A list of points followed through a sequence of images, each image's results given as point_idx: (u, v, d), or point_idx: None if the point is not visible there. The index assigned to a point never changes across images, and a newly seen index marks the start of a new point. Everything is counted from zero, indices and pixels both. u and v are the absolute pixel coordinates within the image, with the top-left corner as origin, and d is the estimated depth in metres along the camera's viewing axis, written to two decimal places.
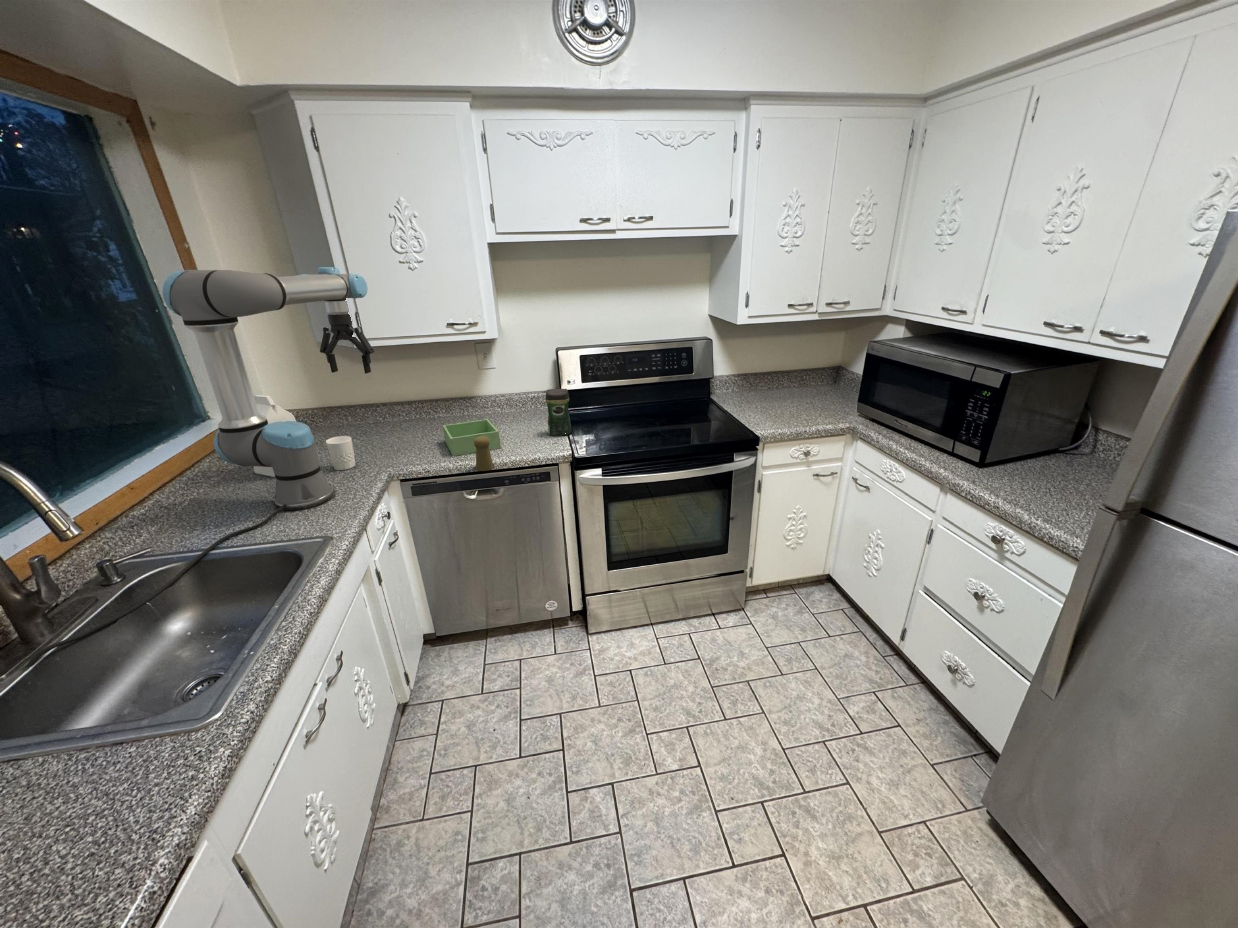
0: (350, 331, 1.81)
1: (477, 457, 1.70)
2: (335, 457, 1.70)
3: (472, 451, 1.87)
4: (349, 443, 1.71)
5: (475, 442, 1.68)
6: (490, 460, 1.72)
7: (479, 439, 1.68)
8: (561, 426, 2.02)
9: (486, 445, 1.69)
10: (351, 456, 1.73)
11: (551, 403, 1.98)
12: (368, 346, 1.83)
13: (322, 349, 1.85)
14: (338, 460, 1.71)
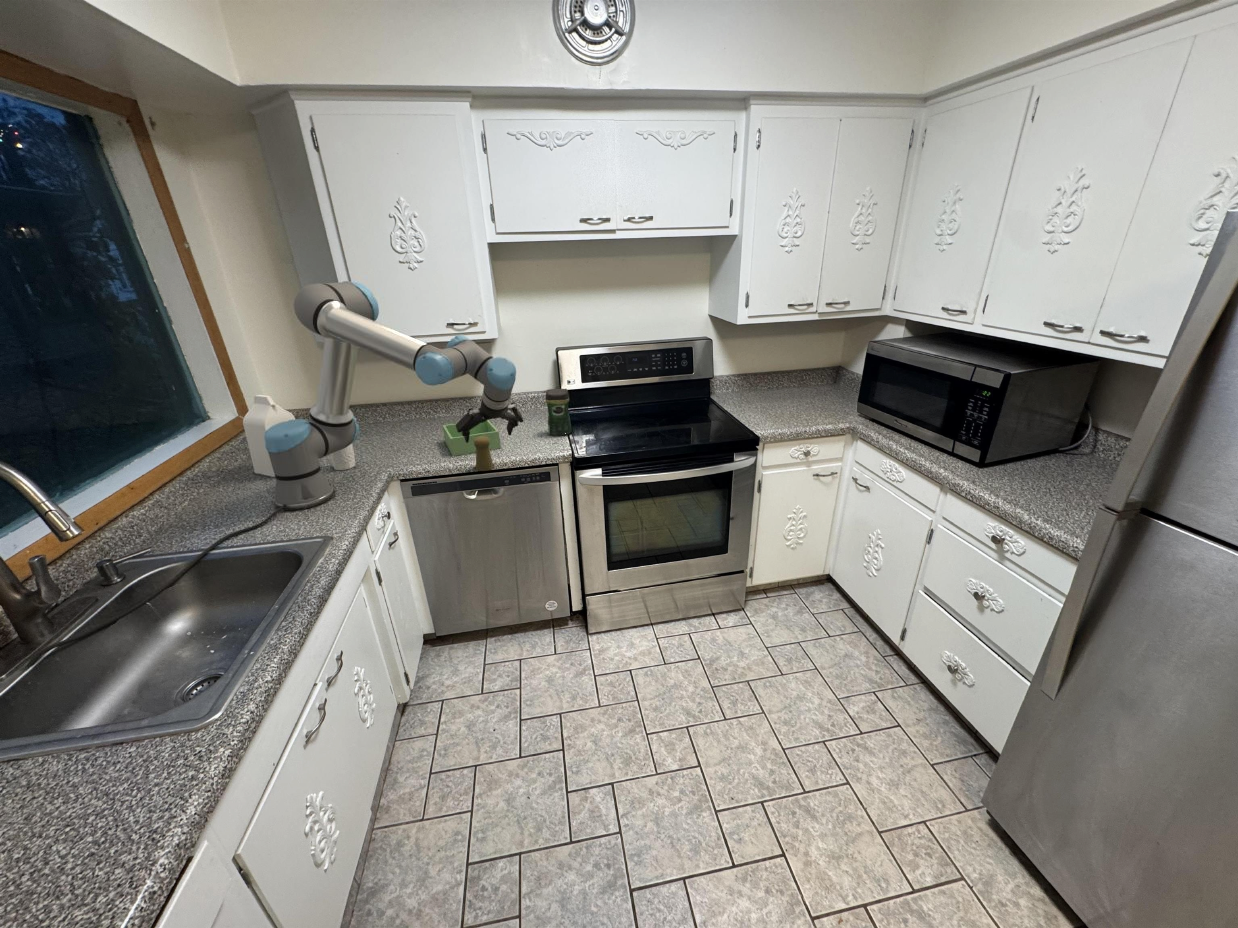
0: None
1: (477, 457, 1.70)
2: (335, 457, 1.70)
3: (472, 451, 1.87)
4: None
5: (475, 442, 1.68)
6: (490, 460, 1.72)
7: (479, 439, 1.68)
8: (561, 426, 2.02)
9: (486, 445, 1.69)
10: (351, 456, 1.73)
11: (551, 403, 1.98)
12: (459, 423, 1.47)
13: None
14: (338, 460, 1.71)
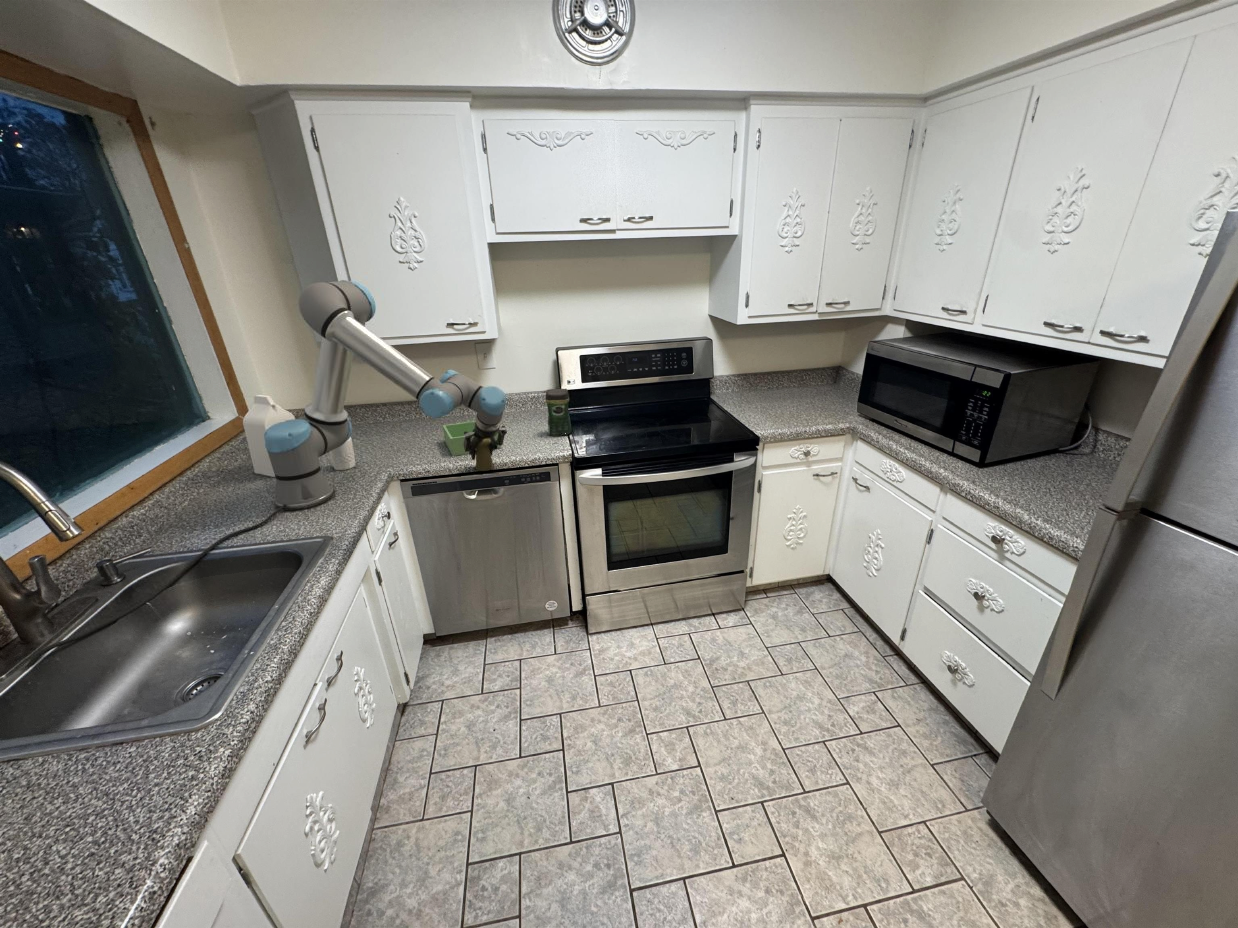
0: None
1: (477, 457, 1.70)
2: (335, 457, 1.70)
3: None
4: (349, 443, 1.71)
5: None
6: (490, 460, 1.72)
7: None
8: (561, 426, 2.02)
9: (486, 445, 1.69)
10: (351, 456, 1.73)
11: (551, 403, 1.98)
12: (464, 444, 1.65)
13: None
14: (338, 460, 1.71)
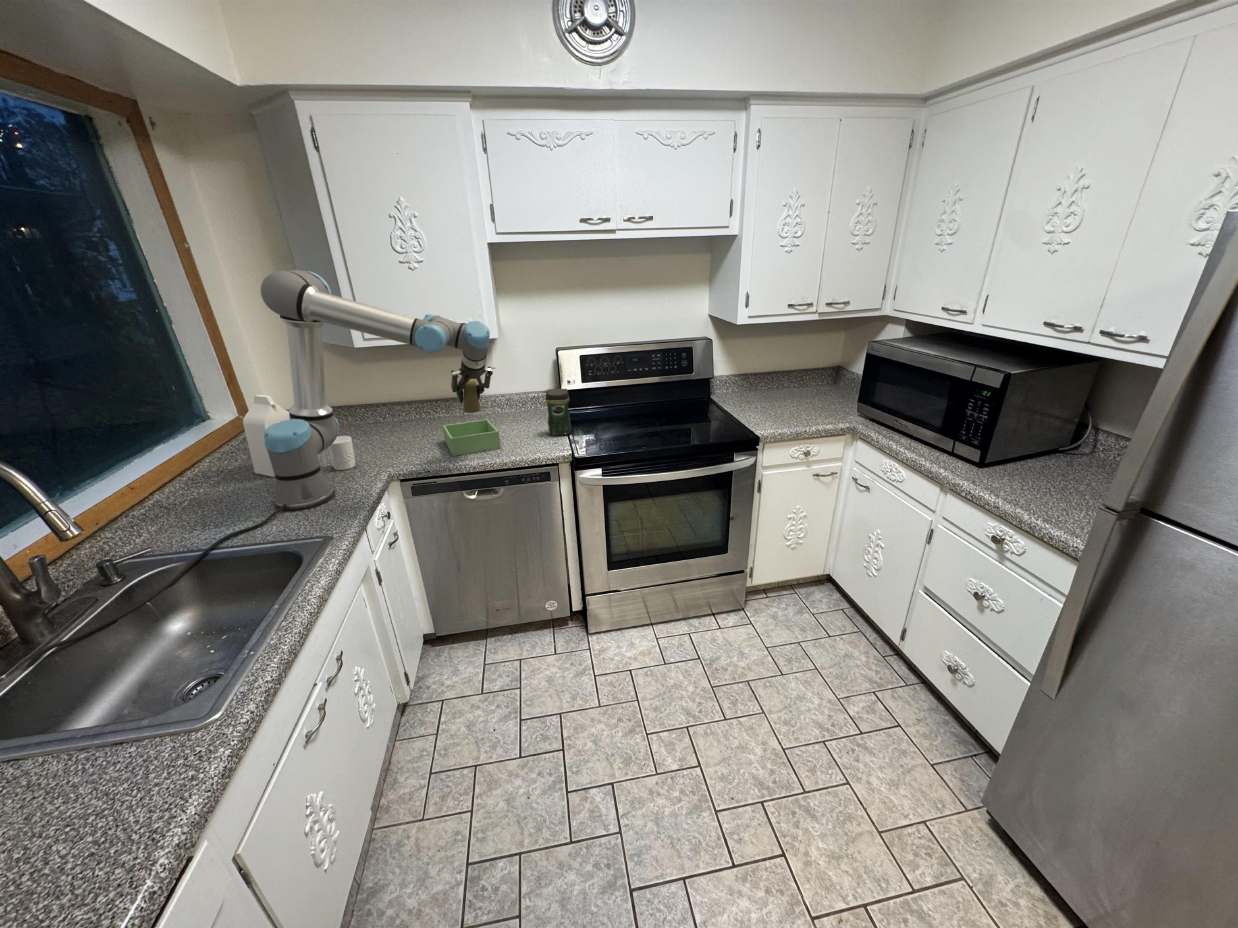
0: None
1: (465, 399, 1.76)
2: (335, 457, 1.70)
3: (472, 451, 1.87)
4: (349, 443, 1.71)
5: None
6: (477, 403, 1.78)
7: None
8: (561, 426, 2.02)
9: (473, 387, 1.75)
10: (351, 456, 1.73)
11: (551, 403, 1.98)
12: (452, 385, 1.70)
13: None
14: (338, 460, 1.71)
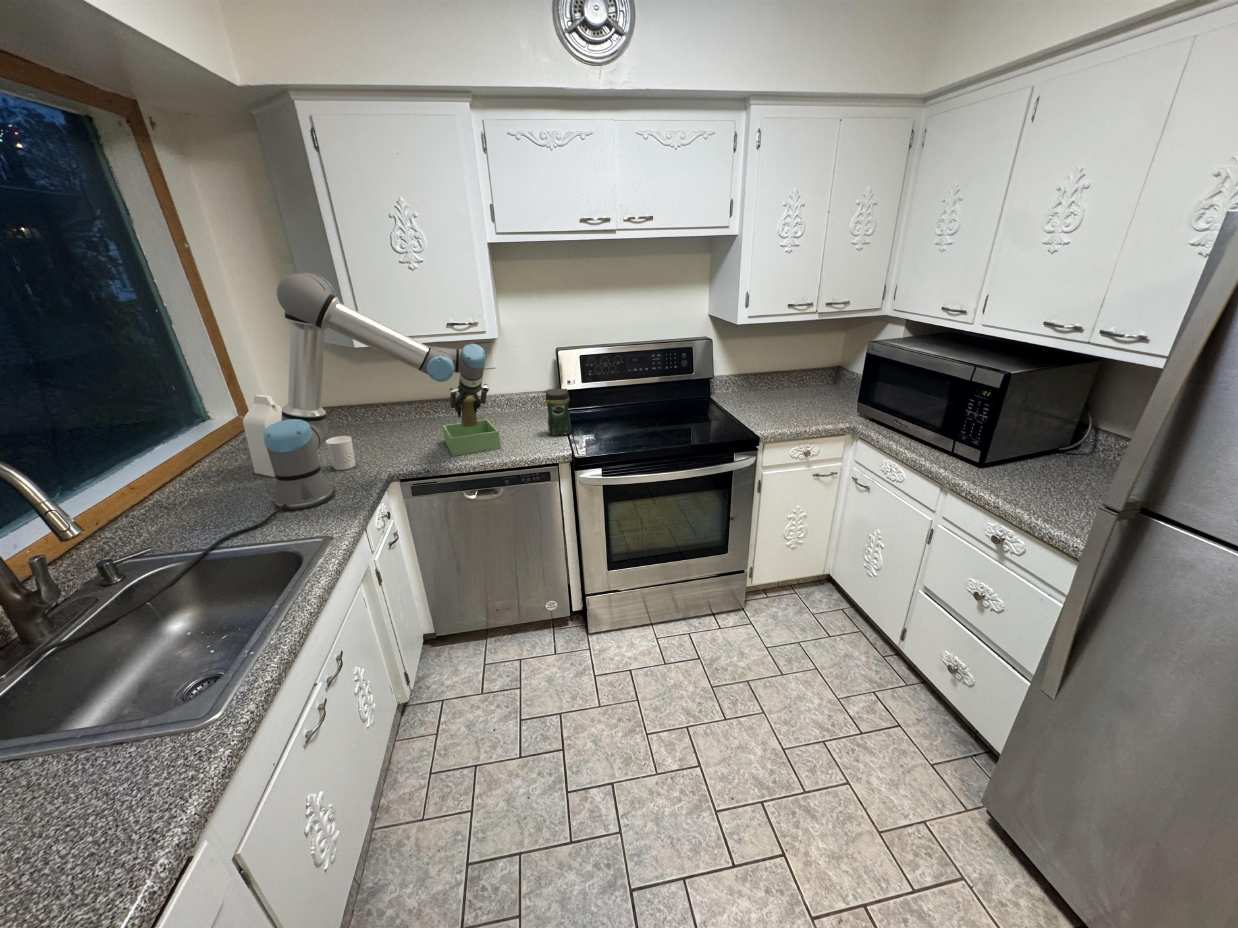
0: None
1: (462, 414, 1.88)
2: (335, 457, 1.70)
3: (472, 451, 1.87)
4: (349, 443, 1.71)
5: None
6: (474, 417, 1.90)
7: None
8: (561, 426, 2.02)
9: (470, 403, 1.87)
10: (351, 456, 1.73)
11: (551, 403, 1.98)
12: (450, 401, 1.83)
13: None
14: (338, 460, 1.71)
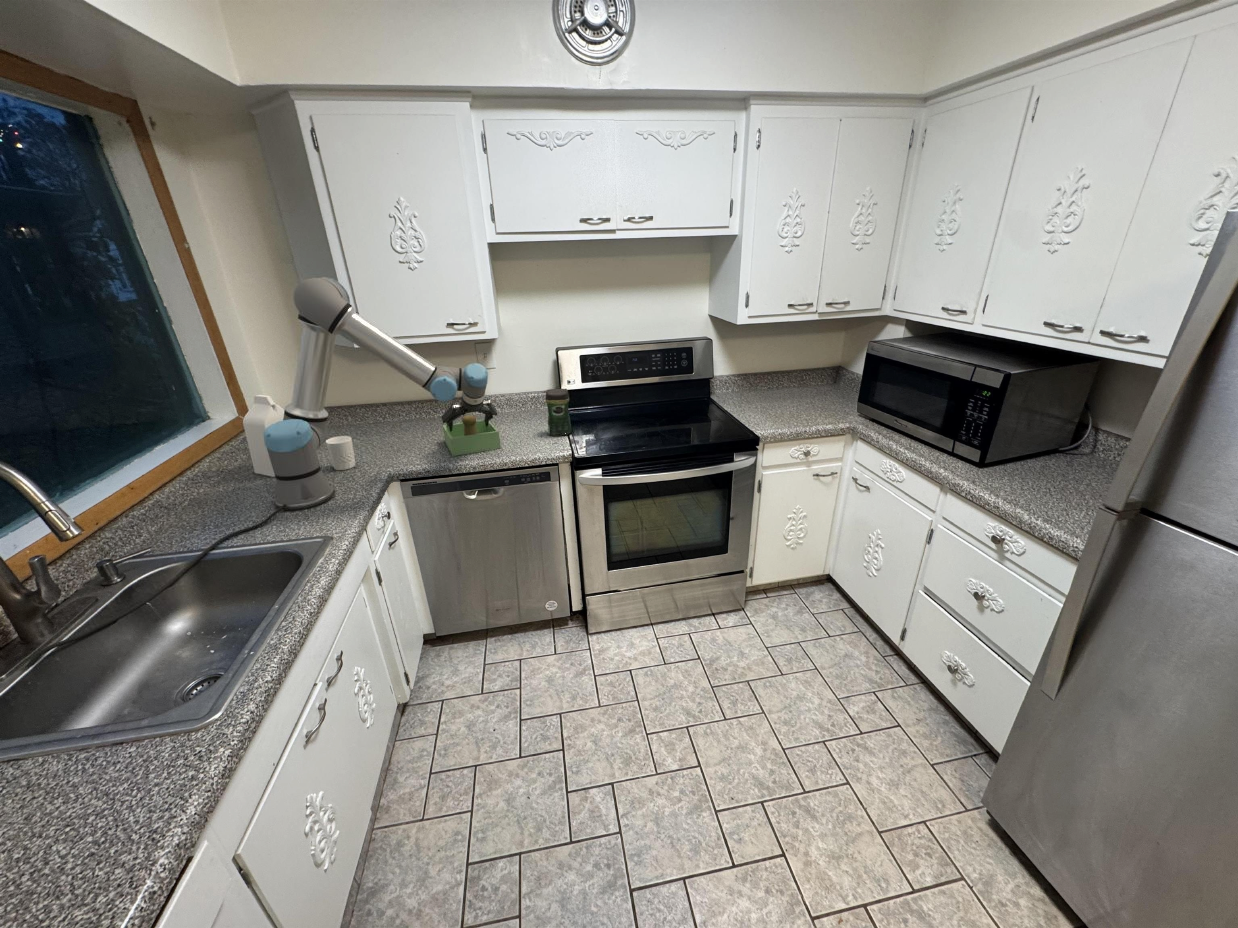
0: None
1: (465, 433, 1.91)
2: (335, 457, 1.70)
3: (472, 451, 1.87)
4: (349, 443, 1.71)
5: (463, 420, 1.89)
6: None
7: (467, 417, 1.89)
8: (561, 426, 2.02)
9: (473, 422, 1.90)
10: (351, 456, 1.73)
11: (551, 403, 1.98)
12: (444, 415, 1.82)
13: None
14: (338, 460, 1.71)
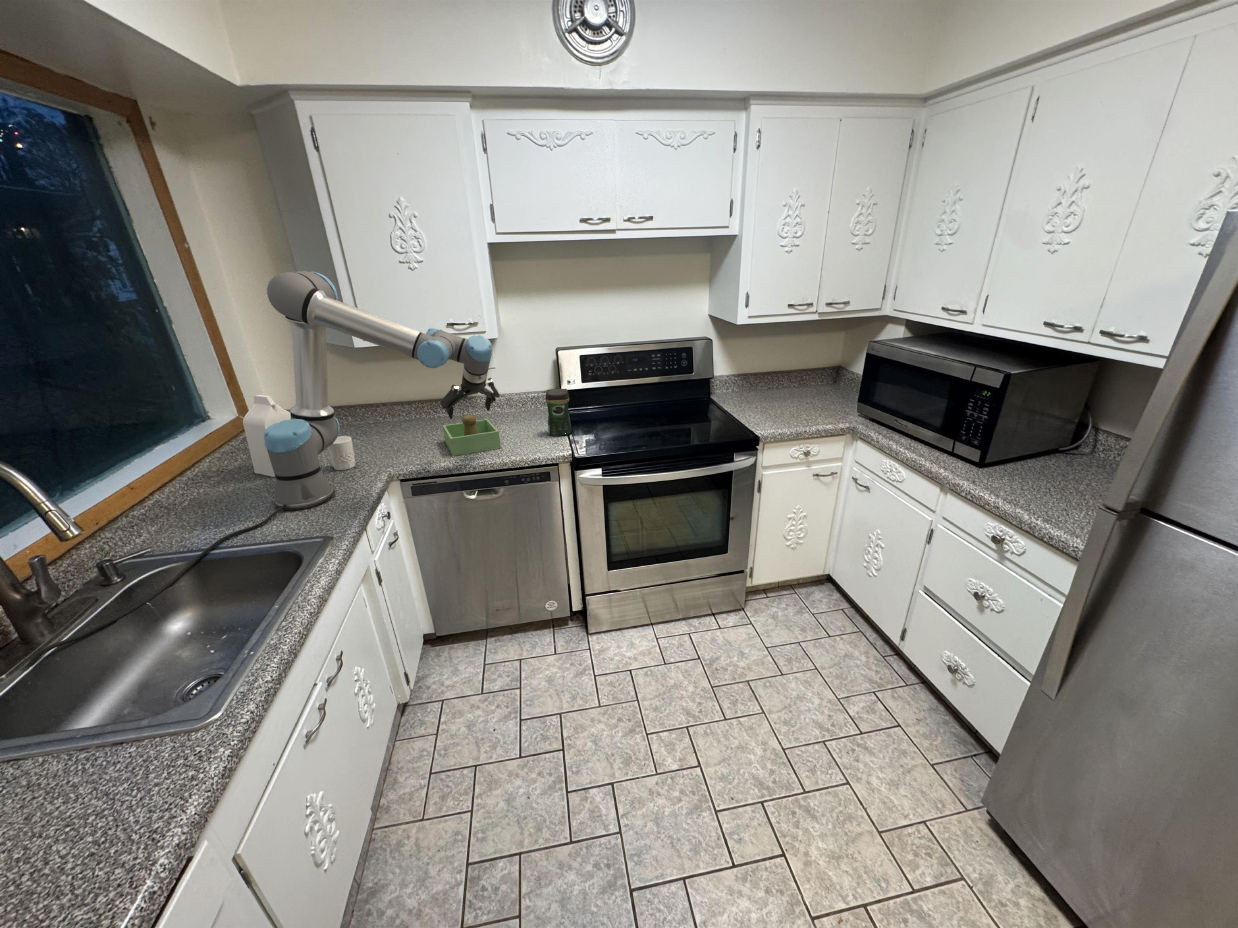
0: None
1: (465, 433, 1.91)
2: (335, 457, 1.70)
3: (472, 451, 1.87)
4: (349, 443, 1.71)
5: (463, 420, 1.89)
6: None
7: (467, 417, 1.89)
8: (561, 426, 2.02)
9: (473, 422, 1.90)
10: (351, 456, 1.73)
11: (551, 403, 1.98)
12: (444, 400, 1.67)
13: None
14: (338, 460, 1.71)
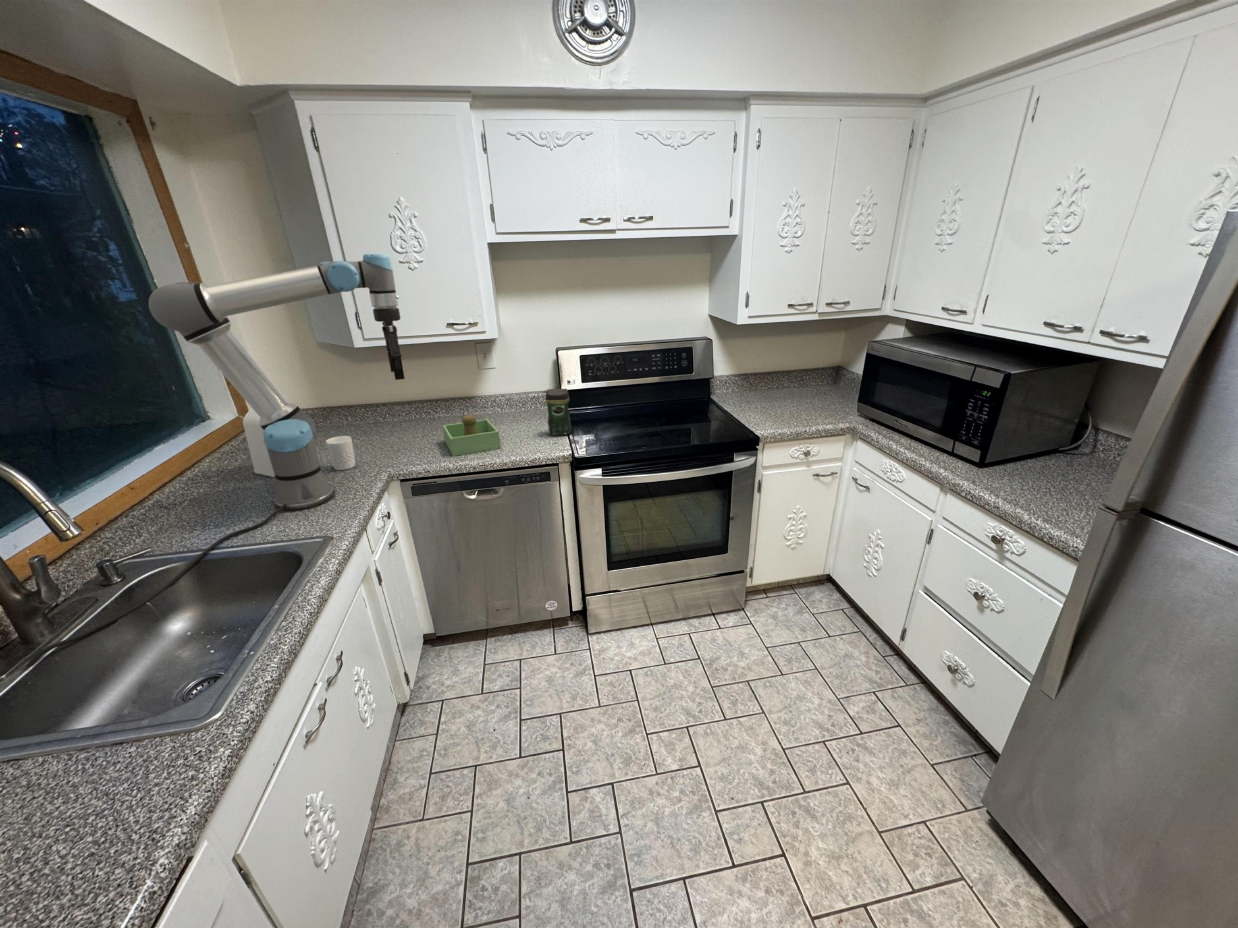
0: (387, 329, 1.55)
1: (465, 433, 1.91)
2: (335, 457, 1.70)
3: (472, 451, 1.87)
4: (349, 443, 1.71)
5: (463, 420, 1.89)
6: None
7: (466, 417, 1.89)
8: (561, 426, 2.02)
9: (473, 422, 1.90)
10: (351, 456, 1.73)
11: (551, 403, 1.98)
12: (394, 349, 1.53)
13: (386, 345, 1.68)
14: (338, 460, 1.71)
